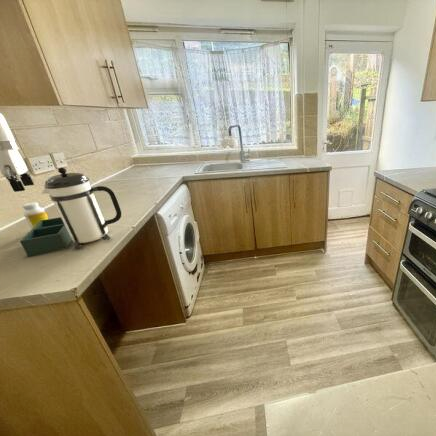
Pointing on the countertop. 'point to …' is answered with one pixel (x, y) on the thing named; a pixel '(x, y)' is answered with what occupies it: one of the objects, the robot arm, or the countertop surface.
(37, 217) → the supplement bottle
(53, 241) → the box
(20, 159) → the robot arm
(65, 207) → the coffee press
